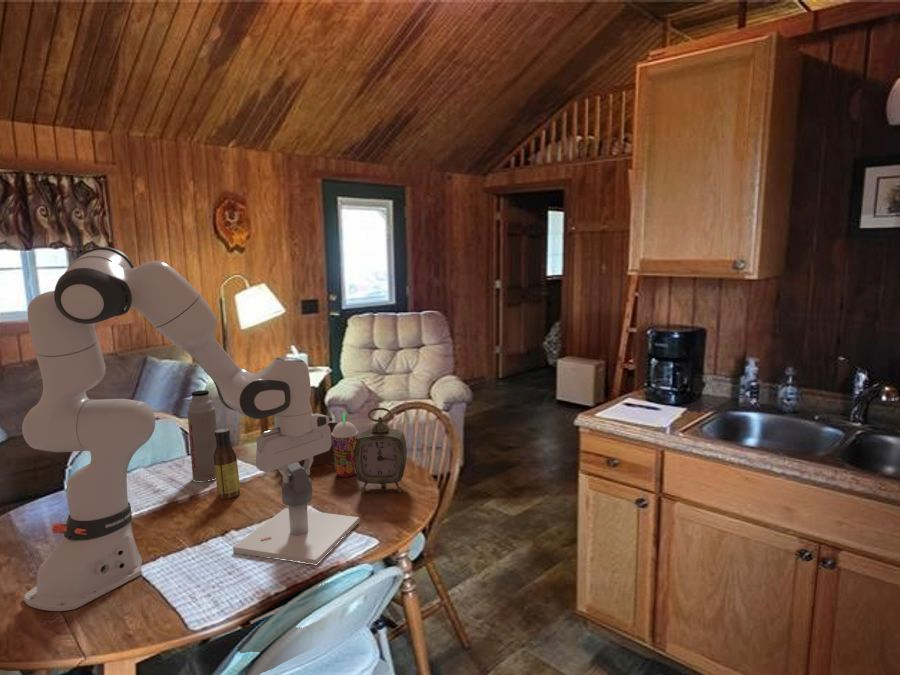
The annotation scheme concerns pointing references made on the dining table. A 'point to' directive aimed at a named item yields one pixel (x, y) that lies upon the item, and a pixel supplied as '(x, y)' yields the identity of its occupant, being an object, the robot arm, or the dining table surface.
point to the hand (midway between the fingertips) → (296, 478)
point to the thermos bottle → (202, 436)
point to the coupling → (297, 487)
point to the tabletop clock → (380, 454)
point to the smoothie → (344, 447)
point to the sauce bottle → (226, 466)
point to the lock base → (297, 535)
